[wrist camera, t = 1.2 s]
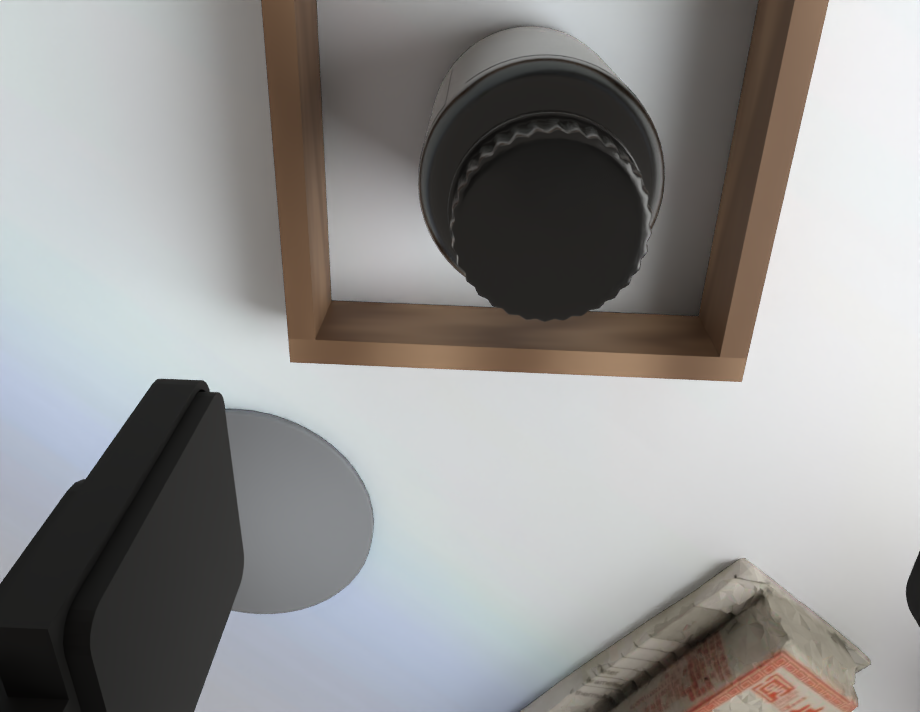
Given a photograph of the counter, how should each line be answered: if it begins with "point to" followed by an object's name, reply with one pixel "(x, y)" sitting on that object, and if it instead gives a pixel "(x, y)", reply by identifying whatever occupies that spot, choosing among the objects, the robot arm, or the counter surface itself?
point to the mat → (294, 514)
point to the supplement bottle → (540, 174)
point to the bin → (510, 336)
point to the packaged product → (720, 657)
